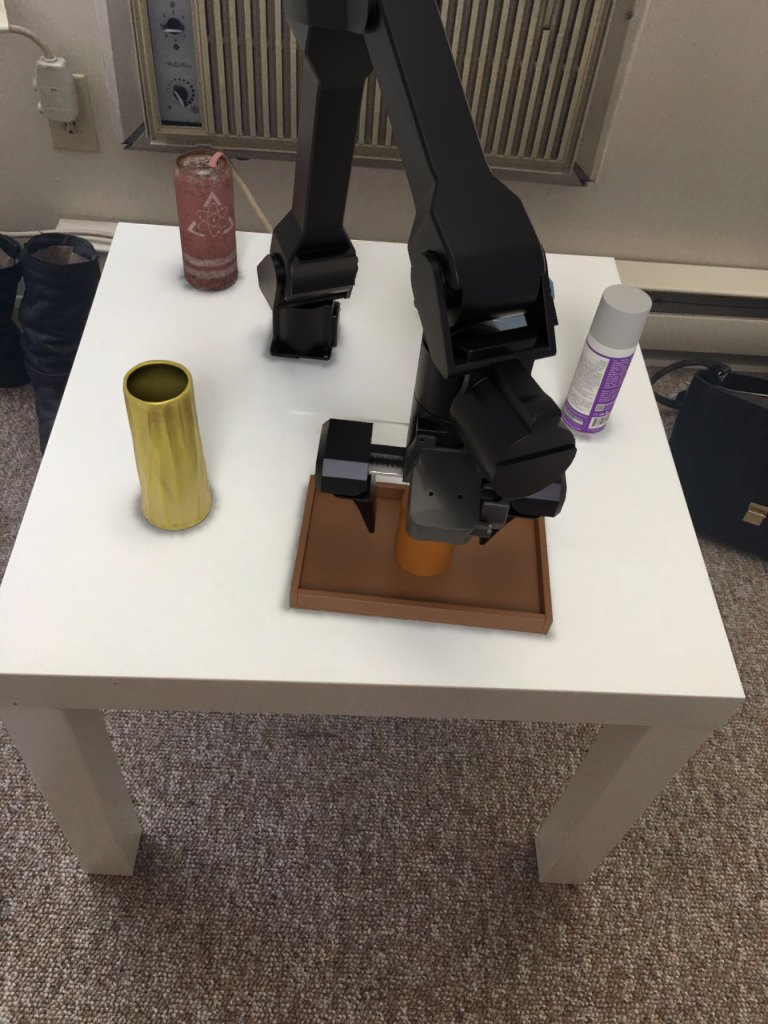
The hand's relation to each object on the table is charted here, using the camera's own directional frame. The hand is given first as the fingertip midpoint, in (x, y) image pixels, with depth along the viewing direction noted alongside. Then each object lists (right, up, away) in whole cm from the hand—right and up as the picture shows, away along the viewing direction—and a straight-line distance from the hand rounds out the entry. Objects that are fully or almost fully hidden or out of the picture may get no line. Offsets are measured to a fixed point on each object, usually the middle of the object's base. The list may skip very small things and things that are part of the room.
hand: (426, 535), depth 69 cm
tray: (0, -2, +2) cm, 3 cm away
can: (-24, +29, +27) cm, 46 cm away
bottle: (0, -2, +2) cm, 3 cm away
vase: (-22, +3, +4) cm, 22 cm away
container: (+17, +11, +16) cm, 26 cm away
